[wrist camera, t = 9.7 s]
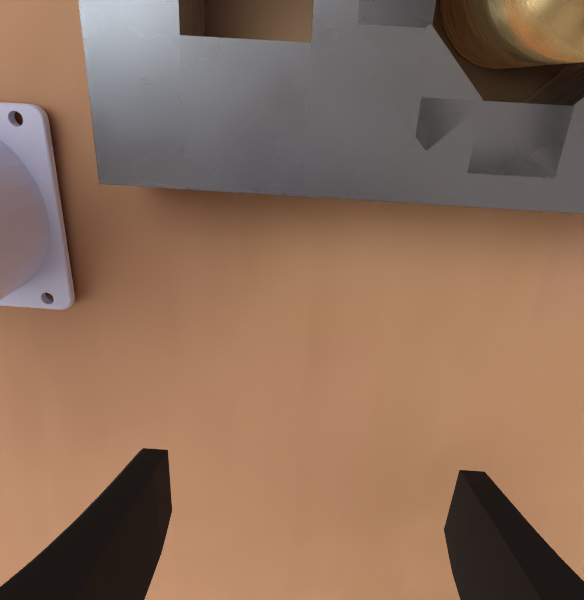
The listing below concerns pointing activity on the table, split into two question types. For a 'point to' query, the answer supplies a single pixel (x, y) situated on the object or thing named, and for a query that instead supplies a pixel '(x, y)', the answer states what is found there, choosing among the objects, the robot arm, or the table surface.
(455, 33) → the brass fitting
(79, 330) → the table surface
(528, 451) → the table surface
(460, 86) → the grey flat block
